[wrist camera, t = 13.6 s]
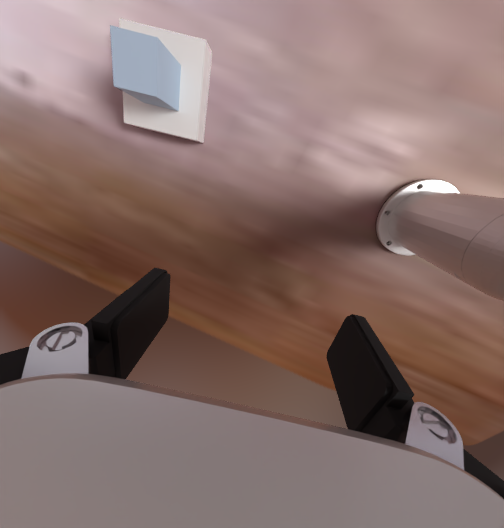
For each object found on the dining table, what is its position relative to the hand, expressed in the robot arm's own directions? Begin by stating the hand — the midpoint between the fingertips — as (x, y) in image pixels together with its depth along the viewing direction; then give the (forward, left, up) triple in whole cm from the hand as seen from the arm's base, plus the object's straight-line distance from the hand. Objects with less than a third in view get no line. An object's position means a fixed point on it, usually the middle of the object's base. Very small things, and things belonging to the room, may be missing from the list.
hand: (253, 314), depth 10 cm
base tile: (+18, -14, -28) cm, 36 cm away
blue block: (+18, -14, -25) cm, 34 cm away
